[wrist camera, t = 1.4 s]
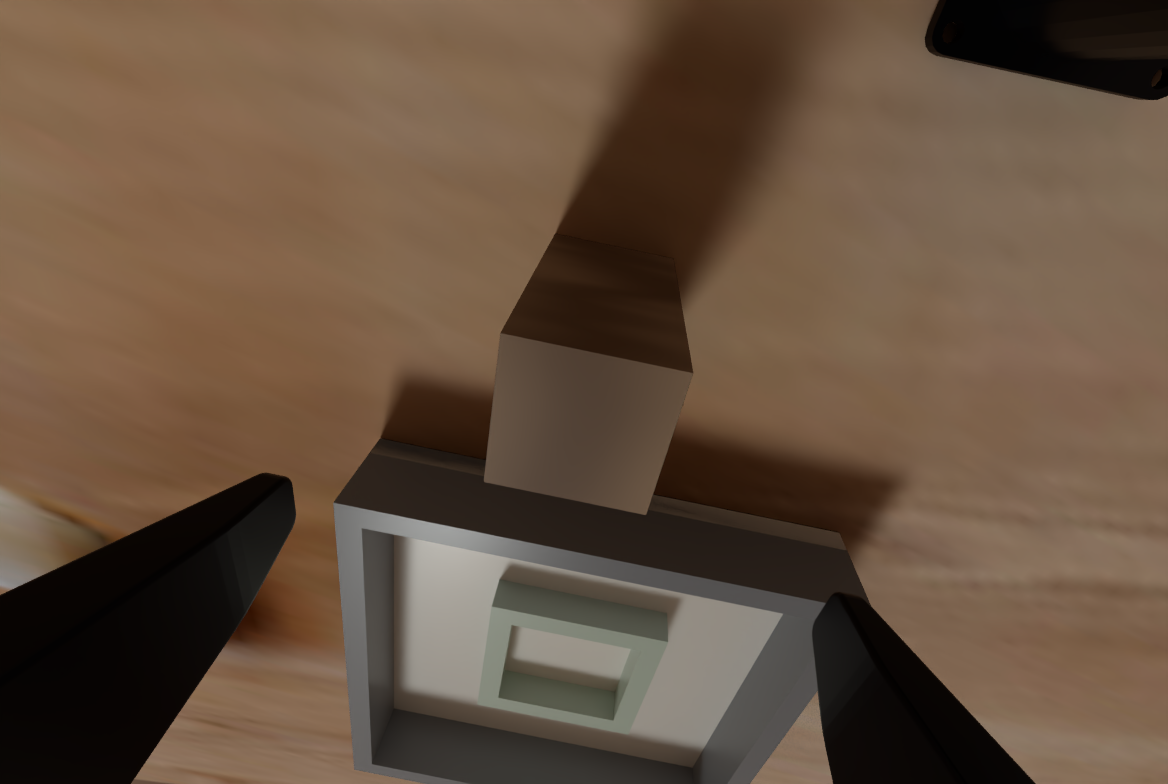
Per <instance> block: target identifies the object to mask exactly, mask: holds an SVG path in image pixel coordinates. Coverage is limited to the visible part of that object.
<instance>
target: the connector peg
mask: <svg viewBox="0 0 1168 784" xmlns="http://www.w3.org/2000/svg"><path fill="white" fill-rule="evenodd" d="M692 376H693V369H692V363H691V357H690V351H689V346H688V340H687V334H686V328H685V322H684V317H683V311H682V305H681V299H680V293H679V288H678V282H677V276H676V270H675V264H674V259H672V258H668V257H663V256H658V255H654V254H649V253H644V252H639V251H635V250H630V249H625V248H620V247H616V246H611V245H606V244H601V243H597V242H592V241H587V240H582V239H578V238H573V237H568V236H564V235H559V234H555V235H554V237H553V239H552V241H551V242H550V244H549V246H548V248H547V250H546V251H545V253H544V255H543V257H542V259H541V260H540V262H539V264H538V266H537V268H536V270H535V271H534V273H533V275H532V277H531V279H530V280H529V282H528V284H527V286H526V288H525V289H524V291H523V293H522V295H521V297H520V299H519V300H518V302H517V304H516V306H515V308H514V309H513V311H512V313H511V315H510V317H509V319H508V320H507V322H506V324H505V326H504V328H503V329H502V331H501V333H500V342H499V350H498V359H497V368H496V377H495V386H494V395H493V403H492V412H491V421H490V430H489V439H488V448H487V457H486V465H485V474H484V482H486V483H491V484H496V485H501V486H506V487H511V488H516V489H521V490H526V491H531V492H535V493H540V494H545V495H550V496H555V497H560V498H565V499H570V500H575V501H579V502H584V503H589V504H594V505H599V506H604V507H609V508H614V509H619V510H623V511H628V512H633V513H638V514H643V515H646V514H647V511H648V508H649V505H650V502H651V499H652V496H653V493H654V490H655V487H656V484H657V481H658V478H659V475H660V472H661V469H662V466H663V463H664V460H665V457H666V454H667V451H668V448H669V445H670V442H671V439H672V436H673V433H674V430H675V427H676V424H677V421H678V418H679V415H680V412H681V409H682V406H683V403H684V400H685V397H686V394H687V391H688V388H689V385H690V382H691V379H692Z"/></svg>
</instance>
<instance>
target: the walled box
mask: <svg viewBox="0 0 1168 784" xmlns="http://www.w3.org/2000/svg"><path fill="white" fill-rule="evenodd" d="M485 465H486V460H482V459H478V458H473V457H468V456H463V455H458V454H453V453H448V452H443V451H439V450H434V449H429V448H424V447H419V446H414V445H409V444H405V443H400V442H395V441H390V440H385V439H379V441H378V442H377V443H376V445H375V446H374V448H373V449H372V450H371V452H370V453H369V454H368V456H367V457H366V459H365V460H364V461H363V463H362V464H361V465H360V467H359V468H358V470H357V471H356V472H355V474H354V475H353V476H352V478H351V479H350V481H349V482H348V483H347V485H346V486H345V487H344V489H343V490H342V492H341V493H340V494H339V496H338V497H337V498H336V500H335V501H334V503H333V504H334V517H335V529H336V542H337V555H338V567H339V580H340V593H341V606H342V618H343V631H344V644H345V656H346V669H347V682H348V695H349V707H350V720H351V733H352V746H353V758H354V770H359V771H364V772H369V773H374V774H379V775H384V776H389V777H395V778H400V779H405V780H410V781H415V782H420V783H425V784H750V783H751V781H752V780H753V779H754V777H755V776H756V774H757V773H758V772H759V770H760V769H761V768H762V766H763V765H764V763H765V762H766V761H767V759H768V758H769V757H770V755H771V754H772V752H773V751H774V750H775V748H776V747H777V746H778V744H779V743H780V741H781V740H782V739H783V737H784V736H785V735H786V733H787V732H788V730H789V729H790V728H791V726H792V725H793V724H794V722H795V721H796V719H797V718H798V717H799V715H800V714H801V713H802V711H803V710H804V708H805V707H806V706H807V704H808V703H809V702H810V700H811V699H812V697H813V696H814V695H815V693H816V692H817V691H818V688H817V679H816V670H815V661H814V651H813V642H812V627H813V624H814V621H815V619H816V618H817V616H818V615H819V613H820V611H821V610H822V608H823V607H824V605H825V604H826V602H827V601H828V599H829V598H830V596H831V595H832V594H833V593H835V592H843V593H848V594H853V595H857V596H860V597H862V598H863V599H864V600H866V601H867V602H868V604H869V605H870V603H869V600H868V598H867V596H866V593H865V591H864V589H863V586H862V584H861V582H860V579H859V577H858V575H857V572H856V570H855V568H854V565H853V563H852V561H851V559H850V556H849V554H848V552H847V549H846V547H845V545H844V542H843V540H842V538H841V535H840V533H837V532H833V531H828V530H823V529H818V528H813V527H808V526H803V525H799V524H794V523H789V522H784V521H779V520H774V519H769V518H765V517H760V516H755V515H750V514H745V513H740V512H735V511H730V510H726V509H721V508H716V507H711V506H706V505H701V504H696V503H692V502H687V501H682V500H677V499H672V498H667V497H662V496H657V495H653V496H652V499H651V502H650V505H649V508H648V511H647V514H646V515H643V514H638V513H633V512H628V511H623V510H619V509H614V508H609V507H604V506H599V505H594V504H589V503H584V502H579V501H575V500H570V499H565V498H560V497H555V496H550V495H545V494H540V493H535V492H531V491H526V490H521V489H516V488H511V487H506V486H501V485H496V484H491V483H486V482H484V474H485ZM870 606H871V605H870Z"/></svg>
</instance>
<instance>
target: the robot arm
mask: <svg viewBox="0 0 1168 784" xmlns="http://www.w3.org/2000/svg"><path fill="white" fill-rule="evenodd" d="M950 22H953V23H955V24H956V28H957V31H956V36H955V37H954V38H953V40H952V41H951V42H949V43H948V44H947V43H945V42H944V40H943V37H942V35H943V30H944V29H945V27H946V26H947V24H949V23H950ZM925 44H926V47H927V49H928V51H929V52H930V53H932V54H934V55H936V56H940V57H945V58H949V59H954V60H958V61H963V62H968V63H972V64H977V65H981V66H986V67H991V68H995V69H1000V70H1004V71H1009V72H1014V73H1018V74H1023V75H1027V76H1032V77H1037V78H1041V79H1046V80H1050V81H1055V82H1059V83H1064V84H1069V85H1073V86H1078V87H1082V88H1087V89H1092V90H1096V91H1101V92H1105V93H1110V94H1115V95H1119V96H1124V97H1128V98H1133V99H1140V100H1158V99H1161V98H1163V97H1166V96H1168V0H939V3H938V5H937V7H936V10H935V12H934V14H933V17H932V19H931V21H930V24H929V26H928V28H927V32H926V36H925ZM1160 69H1162V76H1161V79H1160V81H1159V82H1158V83H1157V84H1156V85H1155V86H1153V87H1152V85H1151V80H1152V78H1153V76H1154V74H1155V73H1156V72H1157V71H1158V70H1160ZM295 518H296V510H295V502H294V495H293V487H292V482H291V480H290V479H289V478H287V477H285V476H280V475H276V474H271V473H261V474H258V475H256V476H254V477H252V478H249V479H247V480H245V481H243V482H241V483H239V484H237V485H234V486H232V487H230V488H228V489H226V490H224V491H222V492H219V493H217V494H215V495H213V496H211V497H209V498H207V499H205V500H202V501H200V502H198V503H196V504H194V505H192V506H190V507H187V508H185V509H183V510H181V511H179V512H177V513H175V514H172V515H170V516H168V517H166V518H164V519H162V520H160V521H157V522H155V523H153V524H151V525H149V526H147V527H145V528H143V529H140V530H138V531H136V532H134V533H132V534H130V535H128V536H125V537H123V538H121V539H119V540H117V541H115V542H113V543H110V544H108V545H106V546H104V547H102V548H100V549H98V550H95V551H93V552H91V553H89V554H87V555H85V556H83V557H81V558H78V559H76V560H74V561H72V562H70V563H68V564H66V565H63V566H61V567H59V568H57V569H55V570H53V571H51V572H48V573H46V574H44V575H42V576H40V577H38V578H36V579H33V580H31V581H29V582H27V583H25V584H23V585H21V586H18V587H16V588H14V589H12V590H10V591H8V592H6V593H4V594H1V595H0V784H131V783H132V781H133V780H134V778H135V777H136V775H137V774H138V772H139V771H140V769H141V768H142V767H143V765H144V764H145V762H146V761H147V759H148V758H149V756H150V755H151V753H152V752H153V750H154V749H155V747H156V746H157V744H158V743H159V742H160V740H161V739H162V737H163V736H164V734H165V733H166V731H167V730H168V728H169V727H170V725H171V724H172V722H173V721H174V719H175V718H176V716H177V715H178V714H179V712H180V711H181V709H182V708H183V706H184V705H185V703H186V702H187V700H188V699H189V697H190V696H191V694H192V693H193V691H194V690H195V689H196V687H197V686H198V684H199V683H200V681H201V680H202V678H203V677H204V675H205V674H206V672H207V671H208V669H209V668H210V666H211V665H212V664H213V662H214V661H215V659H216V658H217V656H218V655H219V653H220V652H221V650H222V649H223V647H224V646H225V644H226V643H227V641H228V640H229V638H230V637H231V636H232V634H233V633H234V631H235V630H236V628H237V627H238V625H239V624H240V622H241V620H242V619H243V617H244V616H245V614H246V613H247V611H248V609H249V607H250V606H251V604H252V602H253V600H254V599H255V597H256V595H257V593H258V591H259V589H260V587H261V586H262V584H263V582H264V580H265V578H266V576H267V574H268V573H269V571H270V569H271V567H272V565H273V563H274V561H275V560H276V558H277V556H278V554H279V552H280V550H281V548H282V547H283V545H284V543H285V541H286V539H287V537H288V535H289V534H290V532H291V530H292V528H293V525H294V523H295ZM812 642H813V651H814V661H815V670H816V679H817V688H818V697H819V707H820V716H821V723H822V730H823V736H824V741H825V747H826V752H827V756H828V761H829V766H830V771H831V775H832V780H833V784H1035V782H1034V781H1033V780H1032V779H1031V778H1030V777H1029V776H1028V775H1027V774H1026V773H1025V772H1024V771H1023V770H1022V768H1021V767H1020V766H1019V765H1018V764H1017V763H1016V762H1015V761H1014V760H1013V759H1012V758H1011V757H1010V756H1009V754H1008V753H1007V752H1006V751H1005V750H1004V749H1003V748H1002V747H1001V746H1000V745H999V744H998V743H997V742H996V740H995V739H994V738H993V737H992V736H991V735H990V734H989V733H988V732H987V731H986V730H985V729H984V728H983V726H982V725H981V724H980V723H979V722H978V721H977V720H976V719H975V718H974V717H973V716H972V715H971V713H970V712H969V711H968V710H967V709H966V708H965V707H964V706H963V705H962V704H961V703H960V702H959V701H958V699H957V698H956V697H955V696H954V695H953V694H952V693H951V692H950V691H949V690H948V689H947V688H946V687H945V685H944V684H943V683H942V682H941V681H940V680H939V679H938V678H937V677H936V676H935V675H934V674H933V673H932V671H931V670H930V669H929V668H928V667H927V666H926V665H925V664H924V663H923V662H922V661H921V660H920V659H919V657H918V656H917V655H916V654H915V653H914V652H913V651H912V650H911V649H910V648H909V647H908V646H907V645H906V643H905V642H904V641H903V640H902V639H901V638H900V637H899V636H898V635H897V634H896V633H895V632H894V630H893V629H892V628H891V627H890V626H889V625H888V624H887V623H886V622H885V621H884V620H883V619H882V618H881V616H880V615H879V614H878V613H877V612H876V611H875V610H874V609H873V608H872V607H871V606H870V605H869V604H868V602H867V601H866V600H864V599H863V598H862V597H860V596H857V595H853V594H848V593H843V592H835V593H833V594H832V595H831V596H830V598H829V599H828V601H827V602H826V604H825V605H824V607H823V608H822V610H821V611H820V613H819V615H818V616H817V618H816V619H815V621H814V624H813V627H812Z"/></svg>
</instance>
